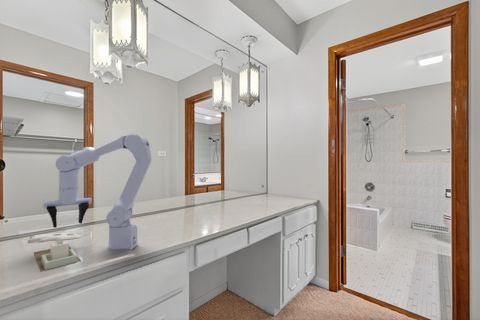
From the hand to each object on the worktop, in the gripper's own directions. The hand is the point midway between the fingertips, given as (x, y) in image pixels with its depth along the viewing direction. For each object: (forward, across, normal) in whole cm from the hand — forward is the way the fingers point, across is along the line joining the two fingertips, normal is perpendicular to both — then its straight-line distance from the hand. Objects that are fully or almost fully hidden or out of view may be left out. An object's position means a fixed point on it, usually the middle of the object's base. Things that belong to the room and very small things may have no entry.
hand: (68, 224), depth 85 cm
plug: (+8, +4, +12) cm, 15 cm away
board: (+9, +4, +7) cm, 13 cm away
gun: (+10, +1, -16) cm, 19 cm away
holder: (+9, +4, +13) cm, 16 cm away
